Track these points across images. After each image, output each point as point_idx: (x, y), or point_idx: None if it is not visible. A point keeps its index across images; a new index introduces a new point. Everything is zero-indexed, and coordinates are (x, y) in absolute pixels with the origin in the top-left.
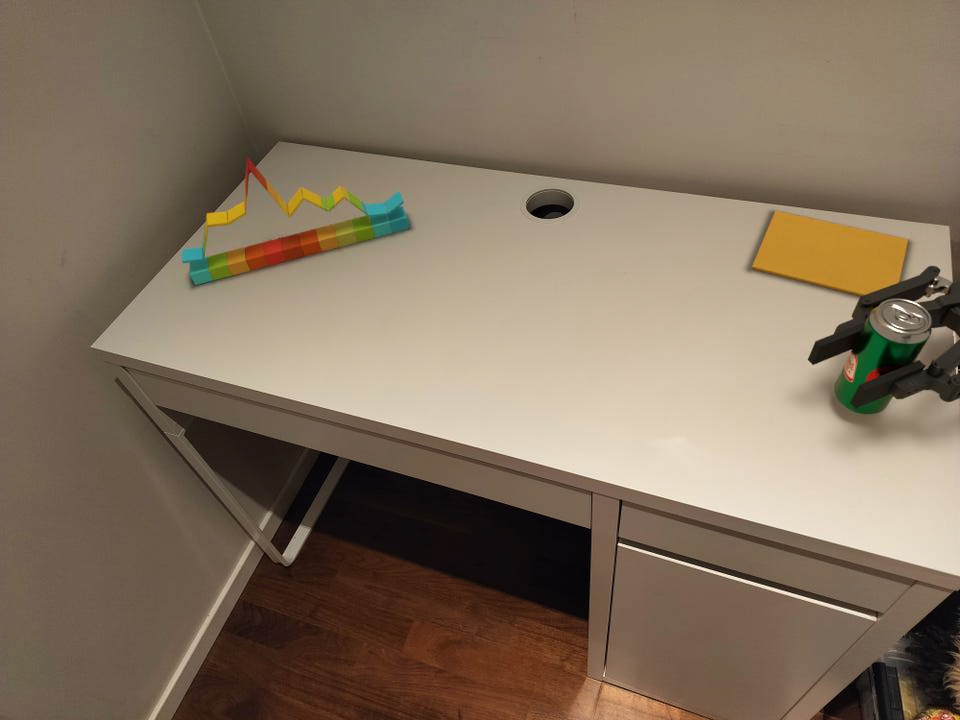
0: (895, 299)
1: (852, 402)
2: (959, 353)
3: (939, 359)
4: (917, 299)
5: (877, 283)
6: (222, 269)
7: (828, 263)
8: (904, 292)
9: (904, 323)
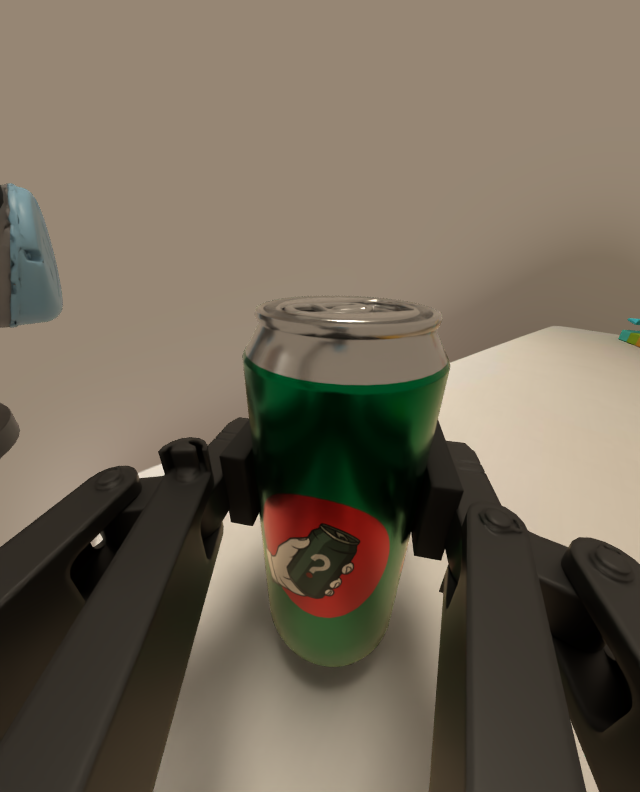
0: (433, 316)
1: None
2: (103, 601)
3: (188, 508)
4: None
5: None
6: (635, 337)
7: None
8: None
9: (320, 300)
